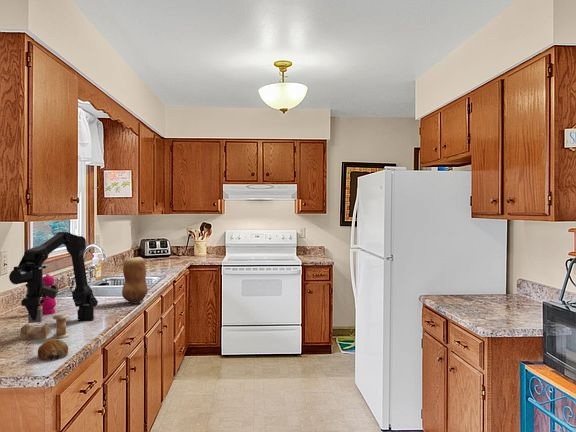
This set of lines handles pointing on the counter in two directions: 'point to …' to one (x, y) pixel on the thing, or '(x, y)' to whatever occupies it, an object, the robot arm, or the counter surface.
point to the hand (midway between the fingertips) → (35, 319)
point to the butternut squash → (134, 280)
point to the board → (35, 332)
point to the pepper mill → (49, 302)
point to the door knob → (61, 326)
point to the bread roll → (52, 349)
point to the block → (38, 317)
